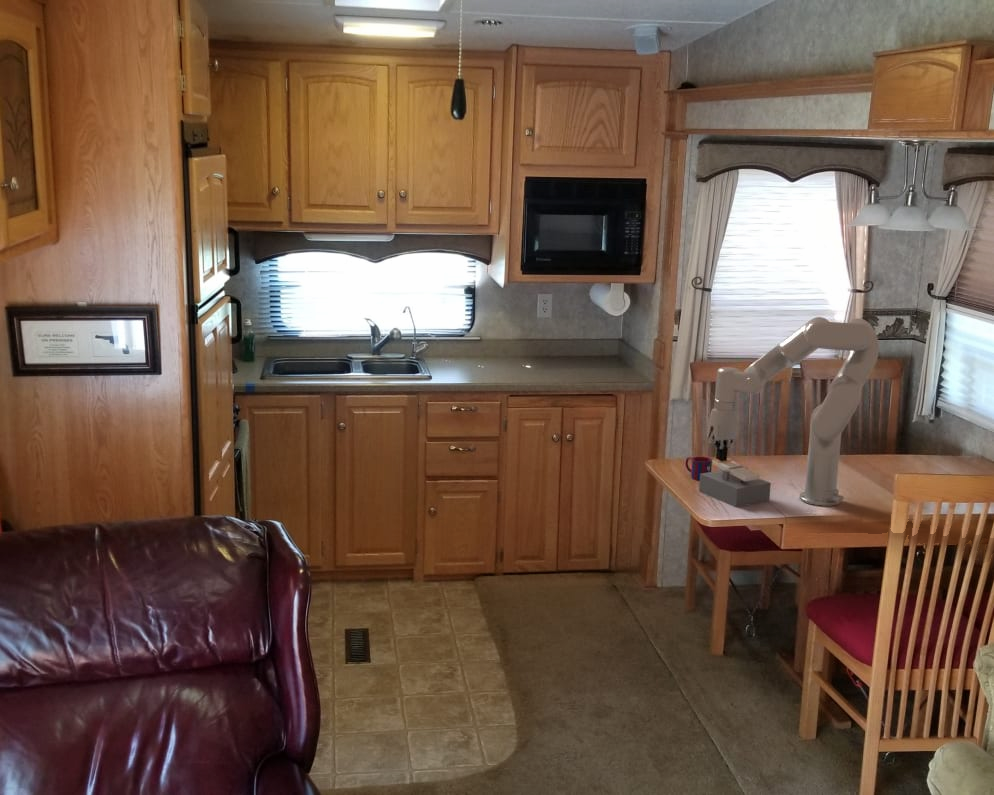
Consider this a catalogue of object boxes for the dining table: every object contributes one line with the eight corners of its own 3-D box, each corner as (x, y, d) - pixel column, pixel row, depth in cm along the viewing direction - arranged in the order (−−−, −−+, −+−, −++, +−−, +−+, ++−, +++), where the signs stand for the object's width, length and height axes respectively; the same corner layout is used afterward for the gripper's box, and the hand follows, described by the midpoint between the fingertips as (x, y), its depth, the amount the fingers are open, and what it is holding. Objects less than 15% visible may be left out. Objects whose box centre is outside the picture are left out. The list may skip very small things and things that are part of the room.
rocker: (759, 479, 327) (759, 474, 326) (744, 482, 324) (745, 477, 323) (726, 461, 340) (726, 457, 340) (711, 464, 337) (712, 459, 337)
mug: (701, 482, 348) (702, 462, 347) (680, 474, 356) (681, 456, 355) (714, 479, 352) (716, 460, 350) (694, 472, 360) (695, 453, 358)
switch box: (769, 500, 329) (771, 473, 327) (735, 507, 323) (737, 479, 321) (731, 485, 345) (733, 459, 343) (699, 491, 338) (700, 465, 336)
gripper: (736, 401, 340) (731, 454, 344) (700, 404, 333) (695, 458, 337) (751, 406, 333) (746, 460, 337) (715, 409, 326) (710, 465, 330)
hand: (721, 459), depth 337 cm, fingers closed
